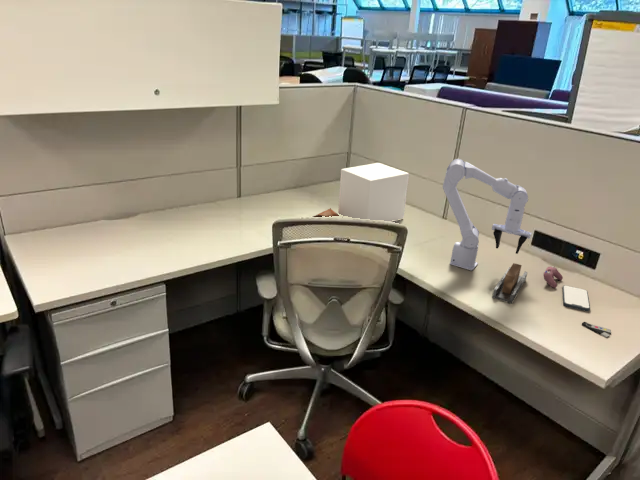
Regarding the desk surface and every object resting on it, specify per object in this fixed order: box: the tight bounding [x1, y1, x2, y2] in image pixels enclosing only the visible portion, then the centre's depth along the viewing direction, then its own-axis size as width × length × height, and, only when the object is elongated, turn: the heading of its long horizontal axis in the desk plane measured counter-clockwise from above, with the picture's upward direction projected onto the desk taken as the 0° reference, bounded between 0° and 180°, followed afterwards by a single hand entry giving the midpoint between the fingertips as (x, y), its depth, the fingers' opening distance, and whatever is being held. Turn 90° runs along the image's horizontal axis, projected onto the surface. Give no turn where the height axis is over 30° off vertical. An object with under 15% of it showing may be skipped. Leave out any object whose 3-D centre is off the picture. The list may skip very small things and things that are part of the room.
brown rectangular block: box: [502, 262, 523, 294], centre depth 183 cm, size 3×12×7 cm, turn 147°
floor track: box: [492, 266, 529, 304], centre depth 184 cm, size 7×22×4 cm, turn 147°
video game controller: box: [543, 265, 564, 289], centre depth 190 cm, size 10×5×7 cm, turn 141°
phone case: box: [561, 285, 591, 312], centre depth 180 cm, size 9×2×16 cm
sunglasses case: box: [312, 207, 339, 217], centre depth 239 cm, size 18×7×7 cm
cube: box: [337, 162, 410, 221], centre depth 241 cm, size 25×21×24 cm
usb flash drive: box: [581, 321, 612, 338], centre depth 162 cm, size 9×5×1 cm, turn 33°
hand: (507, 250), depth 194 cm, fingers open, 7 cm apart
